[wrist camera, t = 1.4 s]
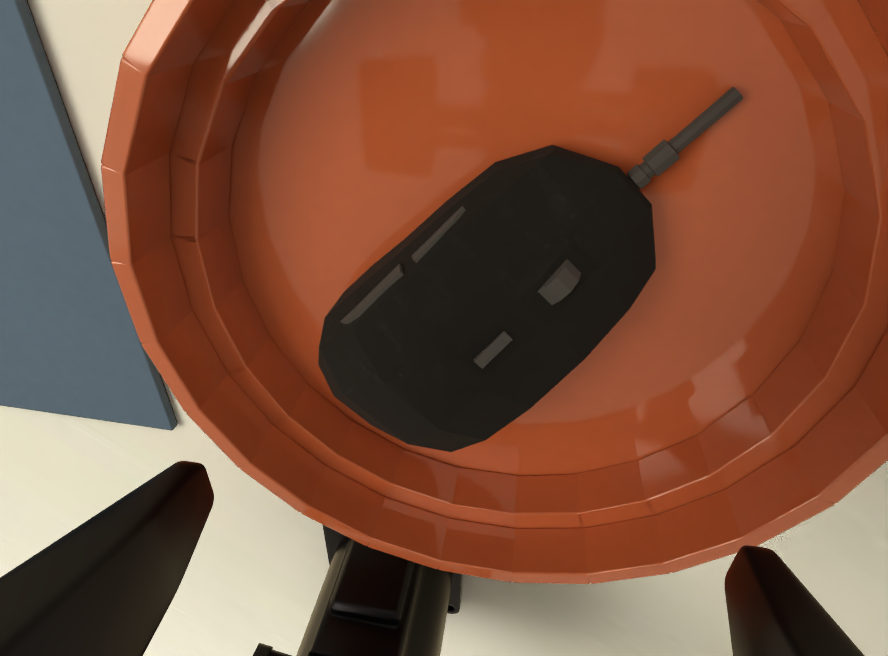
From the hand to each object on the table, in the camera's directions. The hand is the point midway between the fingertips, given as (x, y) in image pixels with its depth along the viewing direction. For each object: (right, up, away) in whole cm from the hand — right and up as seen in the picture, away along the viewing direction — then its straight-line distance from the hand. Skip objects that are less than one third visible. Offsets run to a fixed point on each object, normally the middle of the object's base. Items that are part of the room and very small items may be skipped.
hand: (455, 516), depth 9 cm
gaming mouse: (+2, +5, +8) cm, 9 cm away
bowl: (+2, +5, +8) cm, 9 cm away
